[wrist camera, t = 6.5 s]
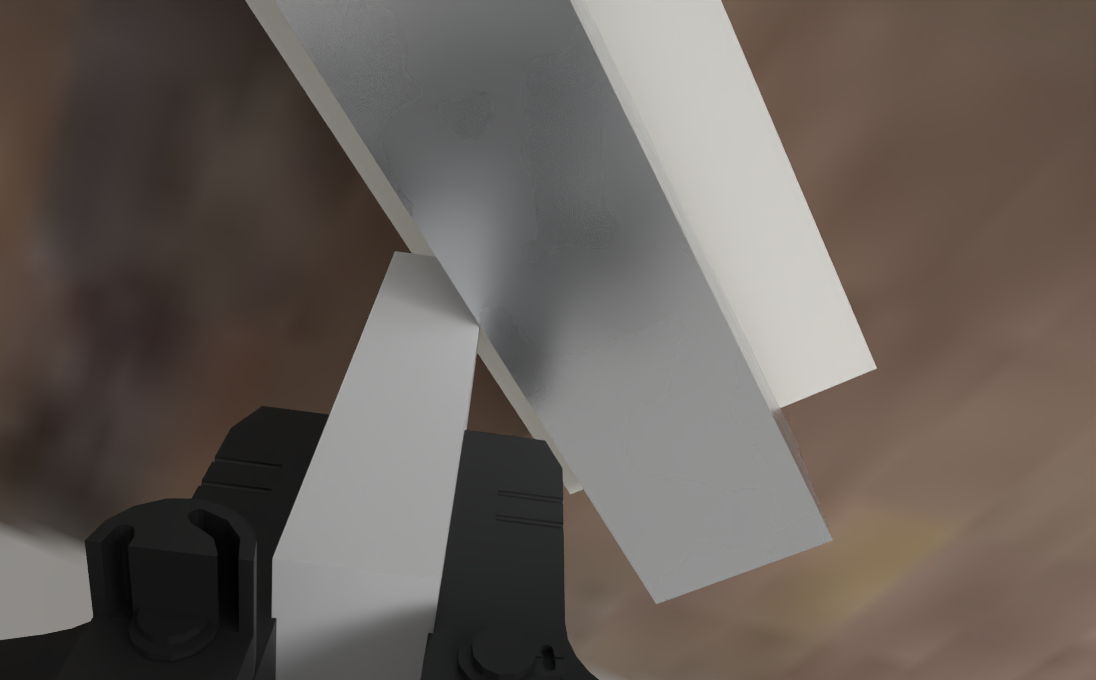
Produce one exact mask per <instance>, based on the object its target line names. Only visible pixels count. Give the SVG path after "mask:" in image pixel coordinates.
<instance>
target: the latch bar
mask: <svg viewBox="0 0 1096 680" xmlns="http://www.w3.org/2000/svg"><path fill="white" fill-rule="evenodd" d="M274 1H275V3H276V5H277V6H278V8H279V9H280V11H281V12H282V14H283V16H284V17H285V19H286V20H287V22H288V23H289V25H290V27H291V28H292V30H293V31H294V33H295V35H296V36H297V38H298V39H299V41H300V42H301V44H302V46H303V47H304V49H305V50H306V52H307V53H308V55H309V57H310V58H311V60H312V61H313V63H314V65H315V66H316V68H317V69H318V71H319V72H320V74H321V76H322V77H323V79H324V80H325V82H326V83H327V85H328V87H329V88H330V90H331V91H332V93H333V95H334V96H335V98H336V99H337V101H338V102H339V104H340V106H341V107H342V109H343V110H344V112H345V113H346V115H347V117H348V118H349V120H350V121H351V123H352V124H353V126H354V128H355V129H356V131H357V132H358V134H359V136H360V137H361V139H362V140H363V142H364V143H365V145H366V147H367V148H368V150H369V151H370V153H371V154H372V156H373V158H374V159H375V161H376V162H377V164H378V166H379V167H380V169H381V170H382V172H383V173H384V175H385V177H386V178H387V180H388V181H389V183H390V184H391V186H392V188H393V189H394V191H395V192H396V194H397V195H398V197H399V199H400V200H401V202H402V203H403V205H404V207H405V208H406V210H407V211H408V213H409V214H410V216H411V218H412V219H413V221H414V222H415V224H416V225H417V227H418V229H419V230H420V232H421V233H422V235H423V237H424V238H425V240H426V241H427V243H428V244H429V246H430V248H431V249H432V251H433V252H434V254H435V255H436V257H437V259H438V260H439V262H440V263H441V265H442V267H443V268H444V270H445V271H446V273H447V274H448V276H449V278H450V279H451V281H452V282H453V284H454V285H455V287H456V289H457V290H458V292H459V293H460V295H461V296H462V298H463V300H464V301H465V303H466V304H467V306H468V308H469V309H470V311H471V312H472V314H473V315H474V317H475V319H476V320H477V322H478V323H479V325H480V326H481V328H482V330H483V331H484V333H485V334H486V336H487V338H488V339H489V341H490V342H491V344H492V345H493V347H494V349H495V350H496V352H497V353H498V355H499V356H500V358H501V360H502V361H503V363H504V364H505V366H506V368H507V369H508V371H509V372H510V374H511V375H512V377H513V379H514V380H515V382H516V383H517V385H518V386H519V388H520V390H521V391H522V393H523V394H524V396H525V397H526V399H527V401H528V402H529V404H530V405H531V407H532V409H533V410H534V412H535V413H536V415H537V416H538V418H539V420H540V421H541V423H542V424H543V426H544V427H545V429H546V431H547V432H548V434H549V435H550V437H551V439H552V440H553V442H554V443H555V445H556V446H557V448H558V450H559V451H560V453H561V454H562V456H563V457H564V459H565V461H566V462H567V464H568V465H569V467H570V469H571V470H572V472H573V473H574V475H575V476H576V478H577V480H578V481H579V483H580V484H581V486H582V487H583V489H584V491H585V492H586V494H587V495H588V497H589V498H590V500H591V502H592V503H593V505H594V506H595V508H596V510H597V511H598V513H599V514H600V516H601V517H602V519H603V521H604V522H605V524H606V525H607V527H608V528H609V530H610V532H611V533H612V535H613V536H614V538H615V540H616V541H617V543H618V544H619V546H620V547H621V549H622V551H623V552H624V554H625V555H626V557H627V558H628V560H629V562H630V563H631V565H632V566H633V568H634V570H635V571H636V573H637V574H638V576H639V577H640V579H641V581H642V582H643V584H644V585H645V587H646V588H647V590H648V592H649V593H650V595H651V596H652V598H653V599H654V601H655V603H656V604H658V603H661V602H663V601H666V600H669V599H672V598H675V597H677V596H680V595H683V594H686V593H688V592H691V591H694V590H697V589H699V588H702V587H705V586H708V585H711V584H713V583H716V582H719V581H722V580H724V579H727V578H730V577H733V576H736V575H738V574H741V573H744V572H747V571H749V570H752V569H755V568H758V567H761V566H763V565H766V564H769V563H772V562H774V561H777V560H780V559H783V558H786V557H788V556H791V555H794V554H797V553H799V552H802V551H805V550H808V549H810V548H813V547H816V546H819V545H822V544H824V543H827V542H830V541H833V539H832V536H831V533H830V531H829V528H828V525H827V523H826V520H825V517H824V515H823V512H822V509H821V507H820V504H819V501H818V499H817V496H816V493H815V491H814V488H813V485H812V483H811V480H810V478H809V475H808V472H807V470H806V467H805V464H804V462H803V459H802V456H801V454H800V451H799V448H798V446H797V443H796V440H795V438H794V436H793V434H792V432H791V430H790V428H789V426H788V424H787V422H786V419H785V417H784V415H783V413H782V411H781V409H780V407H779V405H778V403H777V401H776V399H775V397H774V394H773V392H772V390H771V388H770V386H769V384H768V382H767V380H766V378H765V376H764V374H763V372H762V369H761V367H760V365H759V363H758V361H757V359H756V357H755V355H754V353H753V351H752V349H751V347H750V344H749V342H748V340H747V338H746V336H745V334H744V332H743V330H742V328H741V326H740V324H739V322H738V319H737V317H736V315H735V313H734V311H733V309H732V307H731V305H730V303H729V301H728V299H727V297H726V294H725V292H724V290H723V288H722V286H721V284H720V282H719V280H718V278H717V276H716V274H715V272H714V269H713V267H712V265H711V263H710V261H709V259H708V257H707V255H706V253H705V251H704V249H703V247H702V244H701V242H700V240H699V238H698V236H697V234H696V232H695V230H694V228H693V226H692V224H691V222H690V219H689V217H688V215H687V213H686V211H685V209H684V207H683V205H682V203H681V201H680V199H679V197H678V194H677V192H676V190H675V188H674V186H673V184H672V182H671V180H670V178H669V176H668V174H667V172H666V169H665V167H664V165H663V163H662V161H661V159H660V157H659V155H658V153H657V151H656V149H655V147H654V144H653V142H652V140H651V138H650V136H649V134H648V132H647V130H646V128H645V126H644V124H643V122H642V119H641V117H640V115H639V113H638V111H637V109H636V107H635V105H634V103H633V101H632V99H631V97H630V94H629V92H628V90H627V88H626V86H625V84H624V82H623V80H622V78H621V76H620V74H619V72H618V69H617V67H616V65H615V63H614V61H613V59H612V57H611V55H610V53H609V51H608V49H607V47H606V44H605V42H604V40H603V38H602V36H601V34H600V32H599V30H598V28H597V26H596V24H595V22H594V19H593V17H592V15H591V13H590V11H589V9H588V7H587V5H586V3H585V1H584V0H274Z"/></svg>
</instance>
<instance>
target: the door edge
mask: <svg viewBox="0 0 1096 680" xmlns="http://www.w3.org/2000/svg"><path fill="white" fill-rule="evenodd" d="M245 1H246V2H247V4H248V5H249V7H250V8H251V10H252V11H253V13H254V15H255V16H256V18H257V19H258V21H259V22H260V24H261V25H262V27H263V28H264V30H265V31H266V33H267V34H268V36H269V37H270V39H271V40H272V42H273V43H274V45H275V46H276V48H277V49H278V51H279V52H280V54H281V55H282V57H283V59H284V60H285V62H286V63H287V65H288V66H289V68H290V69H291V71H292V72H293V74H294V75H295V77H296V78H297V80H298V81H299V83H300V84H301V86H302V87H303V89H304V90H305V92H306V93H307V95H308V96H309V98H310V100H311V101H312V103H313V104H314V106H315V107H316V109H317V110H318V112H319V113H320V115H321V116H322V118H323V119H324V121H325V122H326V124H327V125H328V127H329V128H330V130H331V131H332V133H333V134H334V136H335V137H336V139H337V140H338V142H339V144H340V145H341V147H342V148H343V150H344V151H345V153H346V154H347V156H348V157H349V159H350V160H351V162H352V163H353V165H354V166H355V168H356V169H357V171H358V172H359V174H360V175H361V177H362V178H363V180H364V181H365V183H366V184H367V186H368V188H369V189H370V191H371V192H372V194H373V195H374V197H375V198H376V200H377V201H378V203H379V204H380V206H381V207H382V209H383V210H384V212H385V213H386V215H387V216H388V218H389V219H390V221H391V222H392V224H393V225H394V227H395V228H396V230H397V232H398V233H399V235H400V236H401V238H402V239H403V241H404V242H405V244H406V245H407V247H408V248H409V250H410V251H411V253H412V254H419V255H426V256H433V257H436V255H435V254H434V252H433V251H432V249H431V248H430V246H429V244H428V243H427V241H426V240H425V238H424V237H423V235H422V233H421V232H420V230H419V229H418V227H417V225H416V224H415V222H414V221H413V219H412V218H411V216H410V214H409V213H408V211H407V210H406V208H405V207H404V205H403V203H402V202H401V200H400V199H399V197H398V195H397V194H396V192H395V191H394V189H393V188H392V186H391V184H390V183H389V181H388V180H387V178H386V177H385V175H384V173H383V172H382V170H381V169H380V167H379V166H378V164H377V162H376V161H375V159H374V158H373V156H372V154H371V153H370V151H369V150H368V148H367V147H366V145H365V143H364V142H363V140H362V139H361V137H360V136H359V134H358V132H357V131H356V129H355V128H354V126H353V124H352V123H351V121H350V120H349V118H348V117H347V115H346V113H345V112H344V110H343V109H342V107H341V106H340V104H339V102H338V101H337V99H336V98H335V96H334V95H333V93H332V91H331V90H330V88H329V87H328V85H327V83H326V82H325V80H324V79H323V77H322V76H321V74H320V72H319V71H318V69H317V68H316V66H315V65H314V63H313V61H312V60H311V58H310V57H309V55H308V53H307V52H306V50H305V49H304V47H303V46H302V44H301V42H300V41H299V39H298V38H297V36H296V35H295V33H294V31H293V30H292V28H291V27H290V25H289V23H288V22H287V20H286V19H285V17H284V16H283V14H282V12H281V11H280V9H279V8H278V6H277V5H276V3H275V1H274V0H245ZM584 1H585V3H586V5H587V7H588V9H589V11H590V13H591V15H592V17H593V19H594V22H595V24H596V26H597V28H598V30H599V32H600V34H601V36H602V38H603V40H604V42H605V44H606V47H607V49H608V51H609V53H610V55H611V57H612V59H613V61H614V63H615V65H616V67H617V69H618V72H619V74H620V76H621V78H622V80H623V82H624V84H625V86H626V88H627V90H628V92H629V94H630V97H631V99H632V101H633V103H634V105H635V107H636V109H637V111H638V113H639V115H640V117H641V119H642V122H643V124H644V126H645V128H646V130H647V132H648V134H649V136H650V138H651V140H652V142H653V144H654V147H655V149H656V151H657V153H658V155H659V157H660V159H661V161H662V163H663V165H664V167H665V169H666V172H667V174H668V176H669V178H670V180H671V182H672V184H673V186H674V188H675V190H676V192H677V194H678V197H679V199H680V201H681V203H682V205H683V207H684V209H685V211H686V213H687V215H688V217H689V219H690V222H691V224H692V226H693V228H694V230H695V232H696V234H697V236H698V238H699V240H700V242H701V244H702V247H703V249H704V251H705V253H706V255H707V257H708V259H709V261H710V263H711V265H712V267H713V269H714V272H715V274H716V276H717V278H718V280H719V282H720V284H721V286H722V288H723V290H724V292H725V294H726V297H727V299H728V301H729V303H730V305H731V307H732V309H733V311H734V313H735V315H736V317H737V319H738V322H739V324H740V326H741V328H742V330H743V332H744V334H745V336H746V338H747V340H748V342H749V344H750V347H751V349H752V351H753V353H754V355H755V357H756V359H757V361H758V363H759V365H760V367H761V369H762V372H763V374H764V376H765V378H766V380H767V382H768V384H769V386H770V388H771V390H772V392H773V394H774V397H775V399H776V401H777V403H778V405H779V407H780V408H782V407H784V406H786V405H789V404H791V403H794V402H796V401H799V400H801V399H803V398H806V397H808V396H811V395H813V394H816V393H818V392H820V391H823V390H825V389H828V388H830V387H833V386H835V385H837V384H840V383H842V382H845V381H847V380H850V379H852V378H854V377H857V376H859V375H862V374H864V373H867V372H869V371H871V370H874V369H876V365H875V363H874V361H873V358H872V356H871V353H870V351H869V349H868V346H867V344H866V342H865V339H864V337H863V335H862V332H861V330H860V327H859V325H858V323H857V320H856V318H855V316H854V313H853V311H852V309H851V306H850V304H849V302H848V299H847V297H846V294H845V292H844V290H843V287H842V285H841V283H840V280H839V278H838V276H837V273H836V271H835V268H834V266H833V264H832V261H831V259H830V257H829V254H828V252H827V250H826V247H825V245H824V242H823V240H822V238H821V235H820V233H819V231H818V228H817V226H816V224H815V221H814V219H813V217H812V214H811V212H810V209H809V207H808V205H807V202H806V200H805V198H804V195H803V193H802V191H801V188H800V186H799V183H798V181H797V179H796V176H795V174H794V172H793V169H792V167H791V165H790V162H789V160H788V158H787V155H786V153H785V150H784V148H783V146H782V143H781V141H780V139H779V136H778V134H777V132H776V129H775V127H774V124H773V122H772V120H771V117H770V115H769V113H768V110H767V108H766V106H765V103H764V101H763V98H762V96H761V94H760V91H759V89H758V87H757V84H756V82H755V80H754V77H753V75H752V73H751V70H750V68H749V65H748V63H747V61H746V58H745V56H744V54H743V51H742V49H741V47H740V44H739V42H738V39H737V37H736V35H735V32H734V30H733V28H732V25H731V23H730V21H729V18H728V16H727V13H726V11H725V9H724V6H723V4H722V2H721V0H584ZM477 353H478V354H479V356H480V357H481V359H482V361H483V362H484V364H485V365H486V367H487V368H488V370H489V371H490V373H491V374H492V376H493V377H494V379H495V380H496V382H497V383H498V385H499V386H500V388H501V389H502V391H503V392H504V394H505V395H506V397H507V398H508V400H509V401H510V403H511V405H512V406H513V408H514V409H515V411H516V412H517V414H518V415H519V417H520V418H521V420H522V421H523V423H524V424H525V426H526V427H527V429H528V430H529V432H530V433H531V435H532V436H533V438H534V439H537V440H545V441H546V442H547V444H548V446H549V447H550V449H551V451H552V452H553V454H554V455H555V457H556V459H557V460H558V462H559V463H560V465H561V467H562V468H563V483H564V485H565V486H566V488H567V490H568V491H569V493H570V494H573V493H575V492H578V491H580V490H582V489H583V487H582V486H581V484H580V483H579V481H578V480H577V478H576V476H575V475H574V473H573V472H572V470H571V469H570V467H569V465H568V464H567V462H566V461H565V459H564V457H563V456H562V454H561V453H560V451H559V450H558V448H557V446H556V445H555V443H554V442H553V440H552V439H551V437H550V435H549V434H548V432H547V431H546V429H545V427H544V426H543V424H542V423H541V421H540V420H539V418H538V416H537V415H536V413H535V412H534V410H533V409H532V407H531V405H530V404H529V402H528V401H527V399H526V397H525V396H524V394H523V393H522V391H521V390H520V388H519V386H518V385H517V383H516V382H515V380H514V379H513V377H512V375H511V374H510V372H509V371H508V369H507V368H506V366H505V364H504V363H503V361H502V360H501V358H500V356H499V355H498V353H497V352H496V350H495V349H494V347H493V345H492V344H491V342H490V341H489V339H488V338H487V336H486V334H485V333H484V331H483V330H482V328H481V327H480V335H479V342H478V350H477Z"/></svg>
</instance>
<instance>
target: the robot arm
mask: <svg viewBox="0 0 1096 680" xmlns="http://www.w3.org/2000/svg"><path fill="white" fill-rule="evenodd" d="M480 327H481V326H480V325H479V323H478V322H477V320H476V319H475V317H474V315H473V314H472V312H471V311H470V309H469V308H468V306H467V304H466V303H465V301H464V300H463V298H462V296H461V295H460V293H459V292H458V290H457V289H456V287H455V285H454V284H453V282H452V281H451V279H450V278H449V276H448V274H447V273H446V271H445V270H444V268H443V267H442V265H441V263H440V262H439V260H438V259H437V257H433V256H426V255H419V254H412V253H405V252H398V251H395V252H394V255H393V257H392V260H391V262H390V265H389V267H388V270H387V272H386V275H385V277H384V280H383V282H382V285H381V287H380V290H379V292H378V295H377V297H376V300H375V302H374V305H373V307H372V310H371V312H370V315H369V317H368V320H367V322H366V325H365V327H364V330H363V332H362V335H361V337H360V340H359V342H358V345H357V348H356V350H355V353H354V355H353V358H352V360H351V363H350V365H349V368H348V370H347V373H346V375H345V378H344V380H343V383H342V385H341V388H340V390H339V393H338V395H337V398H336V400H335V403H334V405H333V408H332V410H331V413H330V415H327V414H319V413H312V412H304V411H297V410H289V409H281V408H274V407H266V406H262V407H260V408H259V409H257V410H256V411H255V412H253V413H252V414H250V415H249V416H247V417H246V418H245V419H243V420H242V421H240V422H239V423H238V424H236V425H235V426H233V427H232V428H231V429H230V431H229V433H228V435H227V436H226V438H225V440H224V442H223V443H222V445H221V447H220V449H219V451H218V452H217V454H216V456H215V461H214V462H212V463H211V465H210V467H209V468H208V470H207V472H206V474H205V476H204V477H203V479H202V484H201V486H198V488H197V490H196V492H195V493H194V495H193V497H192V499H163V500H158V501H154V502H150V503H145V504H141V505H137V506H133V507H131V508H129V509H127V510H125V511H123V512H121V513H119V514H117V515H115V516H113V517H111V518H109V519H108V520H106V521H104V522H103V523H102V524H101V525H100V526H99V527H98V528H97V529H96V530H95V531H94V532H93V533H92V534H91V535H90V536H89V537H88V538H87V539H86V540H85V547H86V556H87V564H88V573H89V582H90V591H91V600H92V609H93V618H92V620H91V621H90V622H88V623H85V624H82V625H80V626H77V627H75V628H72V629H67V630H62V631H58V632H53V633H48V634H44V635H36V636H28V637H21V638H13V639H6V640H0V680H599V679H597V678H596V677H595V676H594V675H592V674H591V673H590V672H589V671H588V670H587V669H586V668H585V666H584V665H583V664H582V663H581V661H580V660H579V659H578V658H577V657H576V655H575V653H574V651H573V649H572V647H571V645H570V643H569V641H568V638H567V632H566V626H565V600H564V534H563V504H562V501H563V468H562V467H561V465H560V463H559V462H558V460H557V459H556V457H555V455H554V454H553V452H552V451H551V449H550V447H549V446H548V444H547V442H546V441H545V440H537V439H530V438H522V437H514V436H507V435H499V434H492V433H484V432H476V431H469V430H467V423H468V416H469V409H470V401H471V394H472V387H473V379H474V372H475V364H476V357H477V350H478V342H479V335H480Z"/></svg>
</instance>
